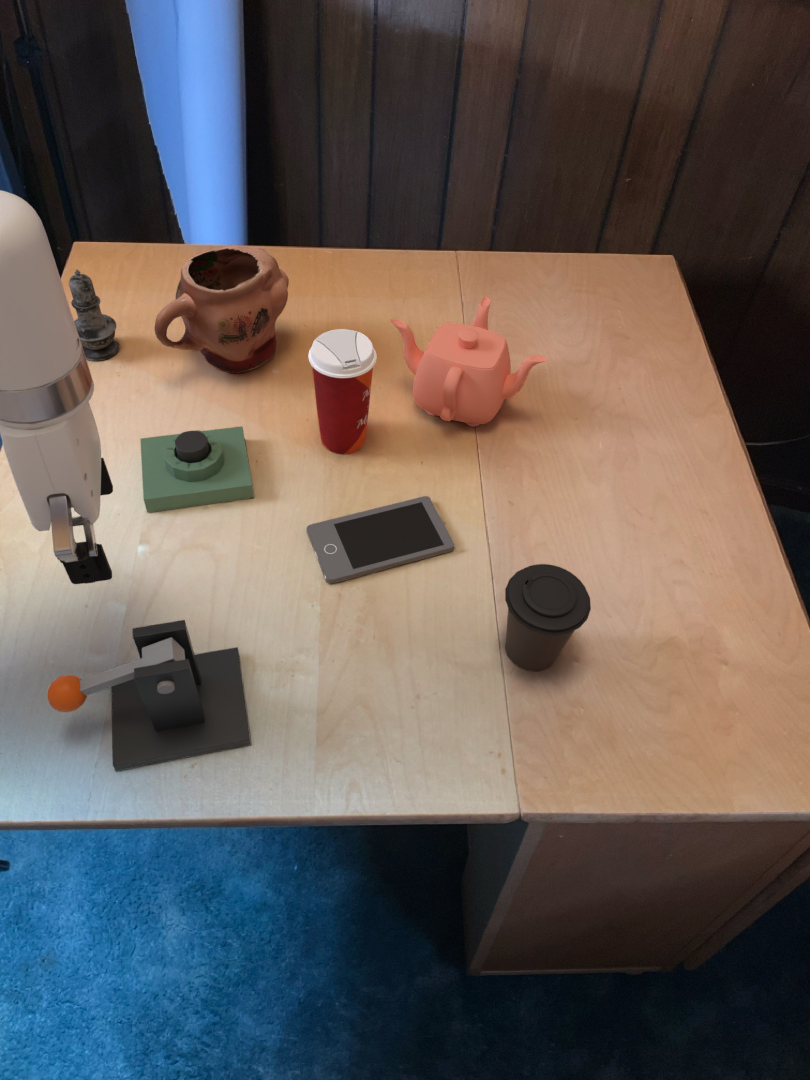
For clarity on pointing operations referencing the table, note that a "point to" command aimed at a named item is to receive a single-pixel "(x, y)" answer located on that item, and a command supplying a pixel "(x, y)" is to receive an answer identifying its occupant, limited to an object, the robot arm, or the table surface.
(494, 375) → the teapot
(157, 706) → the lever base
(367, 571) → the smartphone
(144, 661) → the switch lever
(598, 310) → the table surface
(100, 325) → the salt shaker
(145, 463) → the control block
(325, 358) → the paper cup
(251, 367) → the decorative planter
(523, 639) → the coffee cup
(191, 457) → the button
